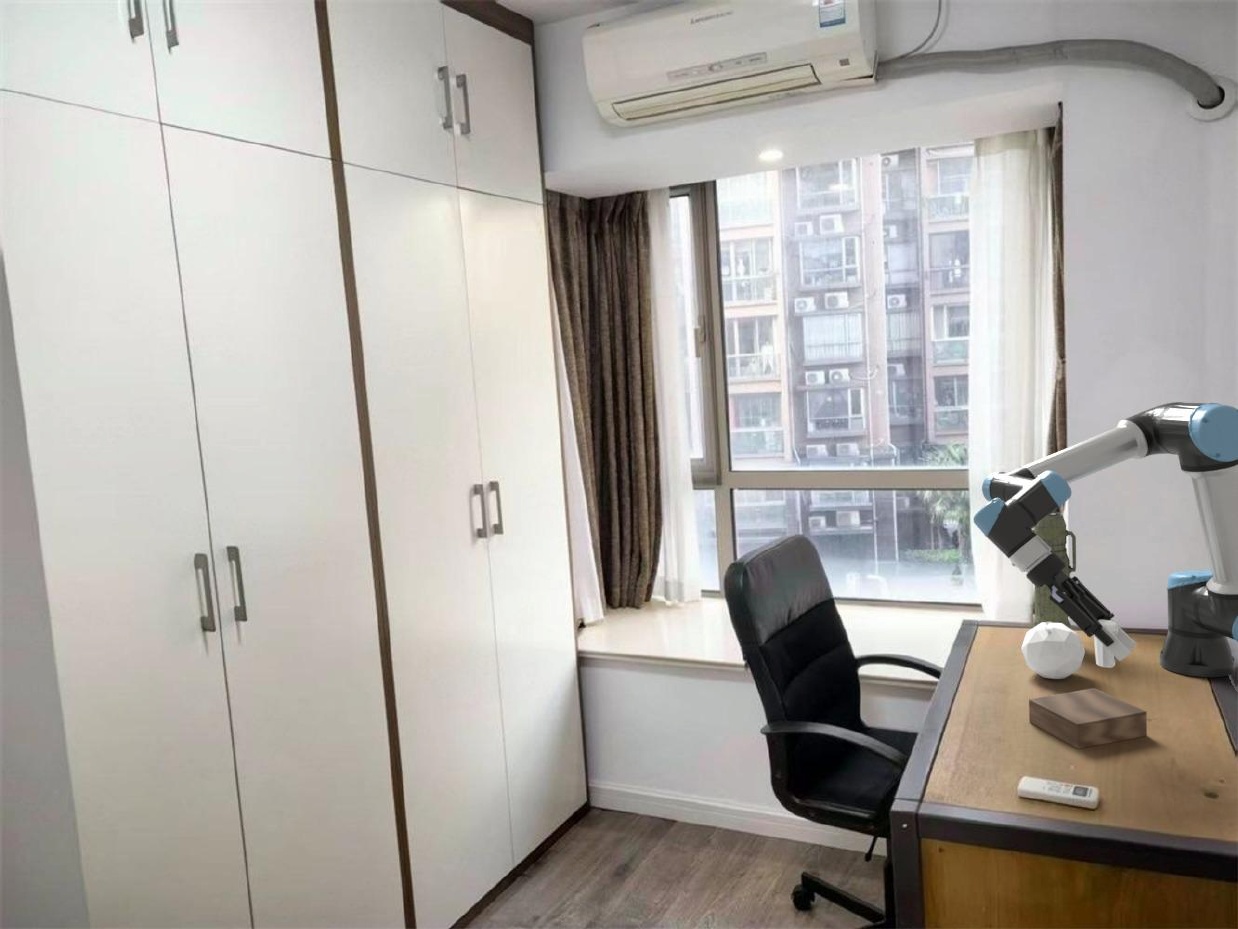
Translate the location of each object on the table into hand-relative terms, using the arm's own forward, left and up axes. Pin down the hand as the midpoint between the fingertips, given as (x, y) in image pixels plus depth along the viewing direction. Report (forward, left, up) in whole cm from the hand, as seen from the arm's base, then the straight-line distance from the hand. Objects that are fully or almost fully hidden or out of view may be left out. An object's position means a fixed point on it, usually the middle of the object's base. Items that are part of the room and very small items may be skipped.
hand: (1128, 652), depth 175 cm
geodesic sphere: (-10, -34, -18) cm, 39 cm away
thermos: (-25, -53, -18) cm, 61 cm away
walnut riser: (+4, -7, -18) cm, 19 cm away
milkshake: (+2, -3, -3) cm, 5 cm away
